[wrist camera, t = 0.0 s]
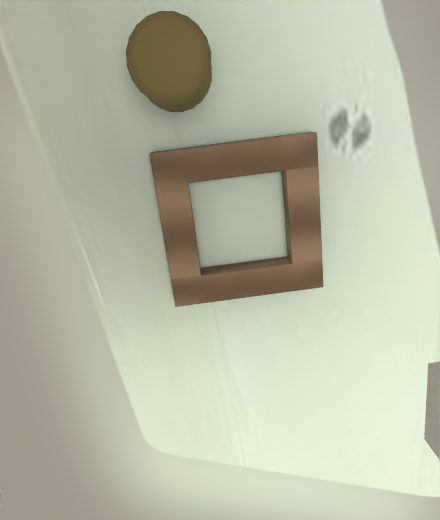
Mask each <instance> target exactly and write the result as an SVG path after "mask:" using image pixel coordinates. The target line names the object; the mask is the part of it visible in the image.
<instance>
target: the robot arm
mask: <svg viewBox="0 0 440 520" xmlns="http://www.w3.org/2000/svg"><path fill="white" fill-rule="evenodd" d="M425 440H426V442H427V443H428V444H429V446H430V447H431V449H432V450H433V451H434V453H435V454H436V456H437V457H438V458H439V460H440V362H435V363H428V380H427V400H426V419H425ZM4 499H5V496H4V494H3V491H2V488H1V486H0V508H1V505H2V503H3V501H4Z"/></svg>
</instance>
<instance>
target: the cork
mask: <svg viewBox="0 0 440 520" xmlns="http://www.w3.org/2000/svg"><path fill="white" fill-rule="evenodd" d="M126 57H127V67H128V70H129V73H130V75H131V78H132V80H133V82H134V83H135V84H136V86H137V87H138V88H139V90H140V91H141V92H142V93H144V94H145V95H146V96H147V97H148V98H149V99H150V101H151V102H153V103H154V104H155V105H157V106H158V107H159V108H161V109H164V110H167V111H170V112H183V111H186V110H189V109H191V108H194V107H195V106H196V105H197V104H199V103H200V102H201V101H202V100H203V98H204V97H205V95H206V94H207V92H208V90H209V87H210V83H211V80H212V73H211V51H210V47H209V44H208V41H207V38H206V36H205V35H204V33H203V32H202V30H201V29H200V27H199V26H198V25H197V24H196V23H195V22H194V21H192V20H191V19H190V18H189V17H187V16H185V15H182V14H180V13H177V12H174V11H159V12H157V13H154V14H151V15H149V16H147V17H145V18H144V19H143V20H142V21H141V22H140V23H138V24H137V25H136V27H135V29H134V30H133V32H132V34H131V35H130V37H129V41H128V46H127V50H126Z"/></svg>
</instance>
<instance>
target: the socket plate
mask: <svg viewBox="0 0 440 520" xmlns="http://www.w3.org/2000/svg"><path fill="white" fill-rule="evenodd" d="M150 160H151V166H152V172H153V178H154V184H155V189H156V195H157V201H158V207H159V213H160V219H161V225H162V230H163V236H164V242H165V248H166V254H167V260H168V265H169V271H170V277H171V283H172V289H173V295H174V301H175V306H176V307H178V306H185V305H193V304H200V303H208V302H215V301H223V300H230V299H237V298H245V297H252V296H260V295H267V294H275V293H282V292H289V291H297V290H304V289H312V288H319V287H323V267H322V244H321V220H320V196H319V172H318V148H317V133H315V132H306V133H298V134H290V135H282V136H275V137H267V138H259V139H251V140H243V141H236V142H228V143H220V144H212V145H204V146H197V147H189V148H181V149H173V150H166V151H158V152H152V153H150ZM277 171H282V178H283V192H284V207H285V221H286V235H287V249H288V257H281V258H274V259H266V260H259V261H251V262H244V263H236V264H229V265H221V266H214V267H206V268H200V262H199V255H198V248H197V241H196V234H195V227H194V220H193V213H192V206H191V199H190V192H189V185H188V183H193V182H200V181H208V180H216V179H223V178H231V177H239V176H247V175H254V174H262V173H270V172H277Z"/></svg>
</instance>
